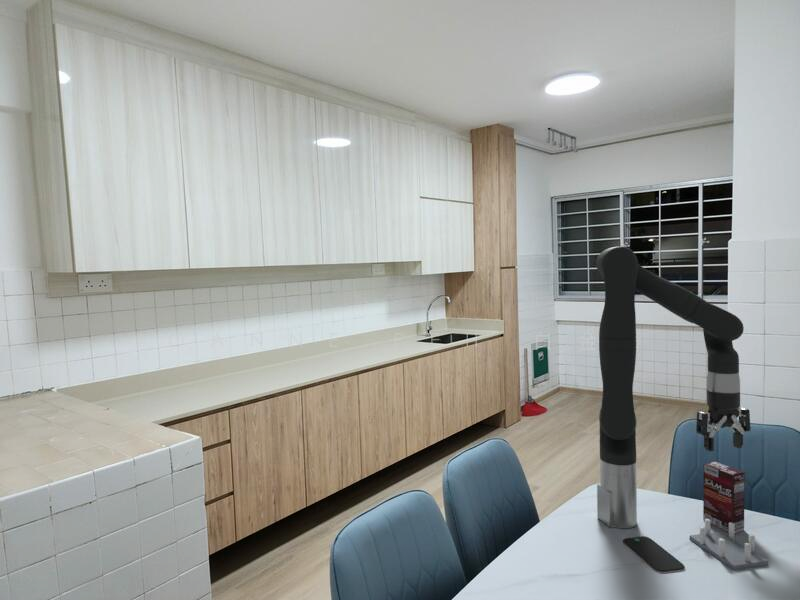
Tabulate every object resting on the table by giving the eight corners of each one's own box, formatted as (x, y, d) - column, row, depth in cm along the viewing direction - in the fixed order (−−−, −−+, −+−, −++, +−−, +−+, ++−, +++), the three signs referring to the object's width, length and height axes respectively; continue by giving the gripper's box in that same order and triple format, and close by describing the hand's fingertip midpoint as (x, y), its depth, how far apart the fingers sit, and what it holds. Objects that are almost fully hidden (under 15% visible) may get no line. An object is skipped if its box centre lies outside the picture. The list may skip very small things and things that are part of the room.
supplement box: (702, 520, 142) (702, 463, 141) (714, 516, 144) (714, 460, 143) (733, 535, 134) (733, 474, 133) (745, 530, 136) (745, 471, 135)
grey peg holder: (733, 570, 119) (733, 548, 118) (688, 539, 132) (688, 520, 132) (768, 564, 120) (768, 543, 120) (721, 534, 134) (721, 516, 134)
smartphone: (647, 535, 134) (688, 567, 119) (647, 538, 134) (688, 571, 119) (620, 538, 133) (658, 571, 118) (620, 542, 133) (658, 575, 118)
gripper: (735, 383, 142) (735, 442, 142) (688, 387, 139) (689, 447, 140) (758, 389, 134) (758, 451, 135) (710, 393, 132) (710, 456, 133)
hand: (723, 448), depth 138 cm, fingers open, 8 cm apart
